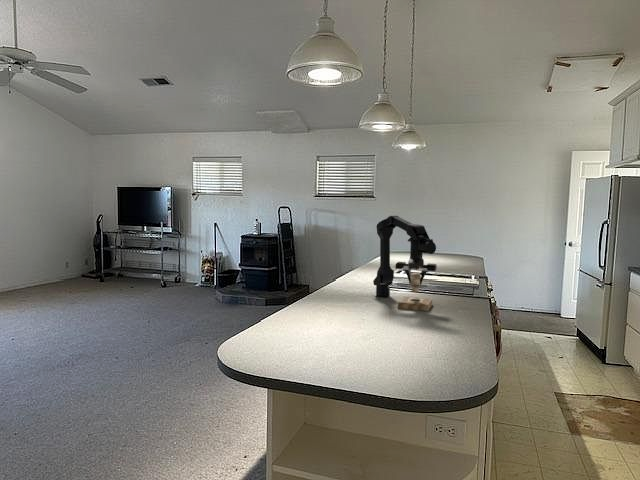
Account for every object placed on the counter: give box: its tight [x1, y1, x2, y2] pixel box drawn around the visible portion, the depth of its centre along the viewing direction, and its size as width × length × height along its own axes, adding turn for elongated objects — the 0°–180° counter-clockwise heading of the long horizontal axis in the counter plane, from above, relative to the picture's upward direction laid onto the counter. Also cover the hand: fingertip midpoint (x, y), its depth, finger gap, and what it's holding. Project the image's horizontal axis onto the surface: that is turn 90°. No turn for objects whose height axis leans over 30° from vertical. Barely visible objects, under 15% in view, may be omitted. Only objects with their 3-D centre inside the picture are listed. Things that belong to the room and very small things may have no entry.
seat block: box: [397, 295, 433, 312], centre depth 216 cm, size 14×14×3 cm
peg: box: [409, 272, 422, 293], centre depth 215 cm, size 5×5×8 cm
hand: (415, 284), depth 215 cm, fingers closed on peg, 5 cm apart
